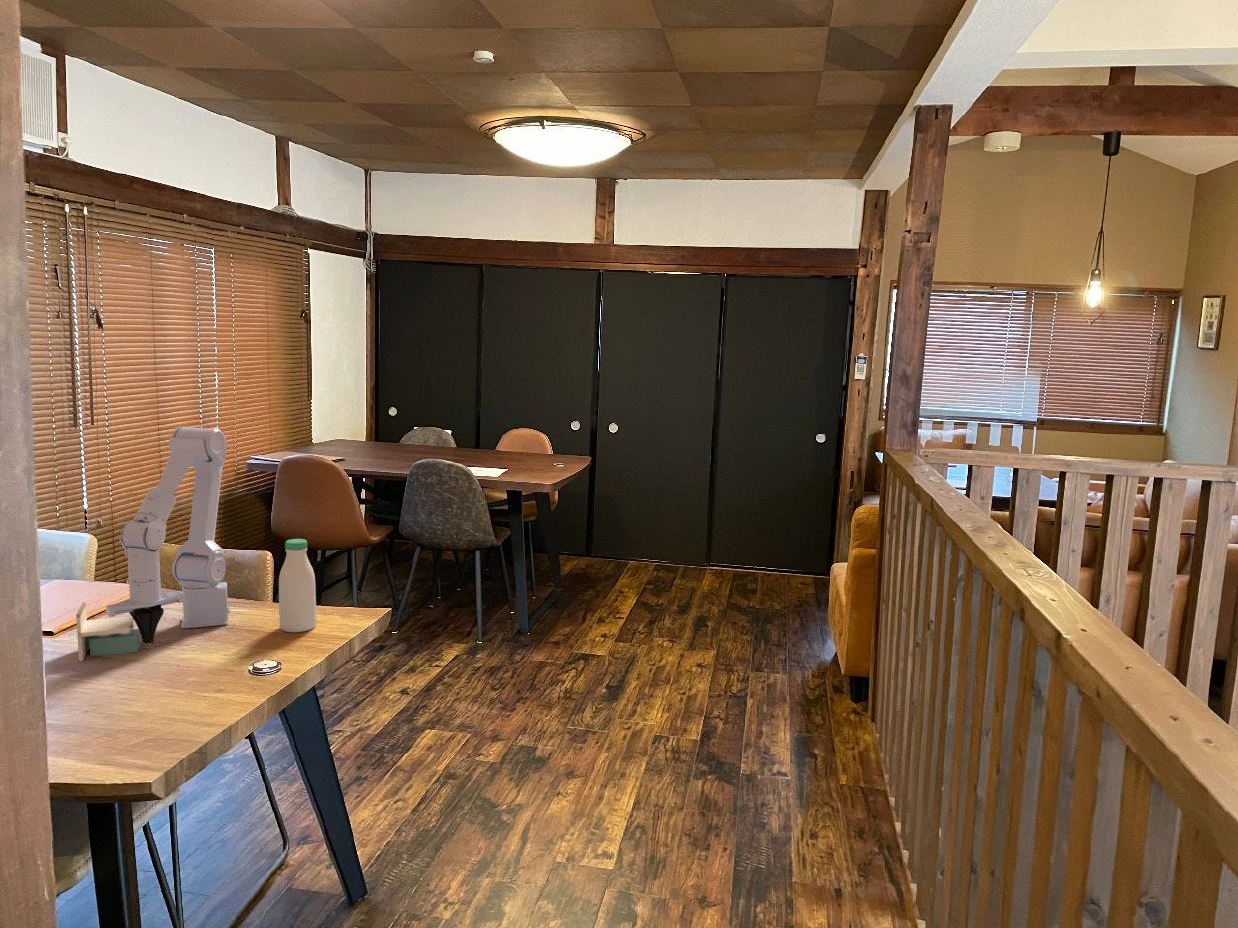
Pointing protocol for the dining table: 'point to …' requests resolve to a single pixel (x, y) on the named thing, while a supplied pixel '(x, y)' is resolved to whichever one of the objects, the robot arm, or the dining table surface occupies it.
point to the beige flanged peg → (98, 628)
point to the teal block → (115, 643)
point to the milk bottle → (297, 589)
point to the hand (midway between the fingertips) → (147, 642)
